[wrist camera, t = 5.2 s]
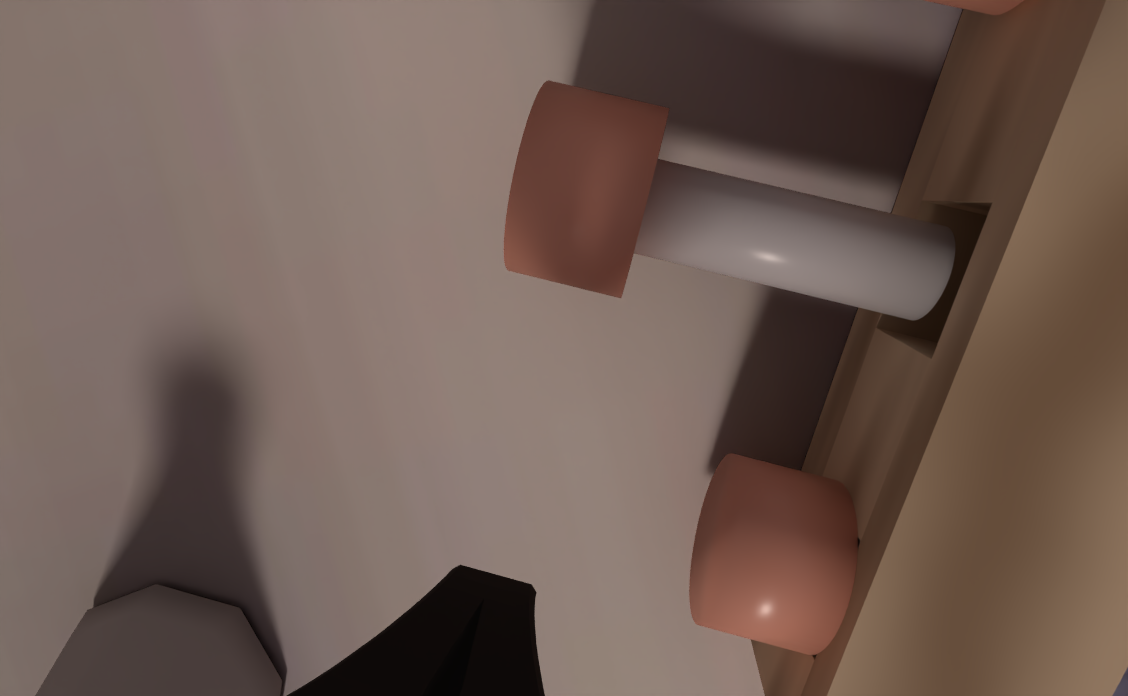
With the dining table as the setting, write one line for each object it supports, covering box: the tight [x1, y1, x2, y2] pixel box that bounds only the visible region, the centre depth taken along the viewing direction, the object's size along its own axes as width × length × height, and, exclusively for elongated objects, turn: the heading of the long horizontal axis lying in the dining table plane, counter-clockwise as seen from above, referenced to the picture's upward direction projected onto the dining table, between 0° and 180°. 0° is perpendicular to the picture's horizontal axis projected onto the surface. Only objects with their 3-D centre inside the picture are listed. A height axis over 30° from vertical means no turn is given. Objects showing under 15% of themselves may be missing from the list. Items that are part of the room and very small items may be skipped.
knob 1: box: [504, 81, 955, 320], centre depth 14 cm, size 8×4×4 cm, turn 77°
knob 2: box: [689, 453, 861, 655], centre depth 15 cm, size 8×4×4 cm, turn 77°
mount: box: [751, 0, 1128, 696], centre depth 14 cm, size 5×22×6 cm, turn 167°
